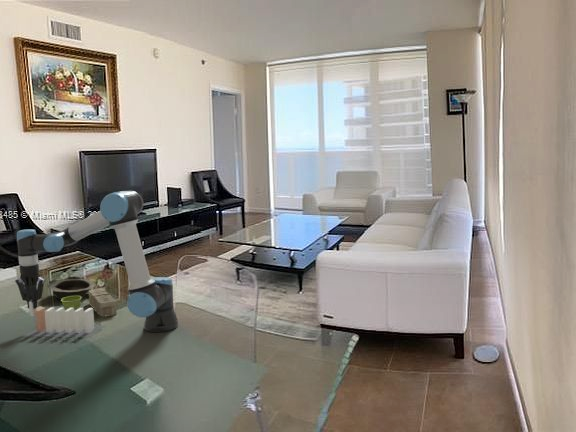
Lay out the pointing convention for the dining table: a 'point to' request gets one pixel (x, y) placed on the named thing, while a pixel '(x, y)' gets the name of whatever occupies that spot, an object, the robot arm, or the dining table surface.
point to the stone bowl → (70, 287)
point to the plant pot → (71, 302)
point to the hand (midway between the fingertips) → (33, 315)
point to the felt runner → (64, 333)
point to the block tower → (102, 302)
